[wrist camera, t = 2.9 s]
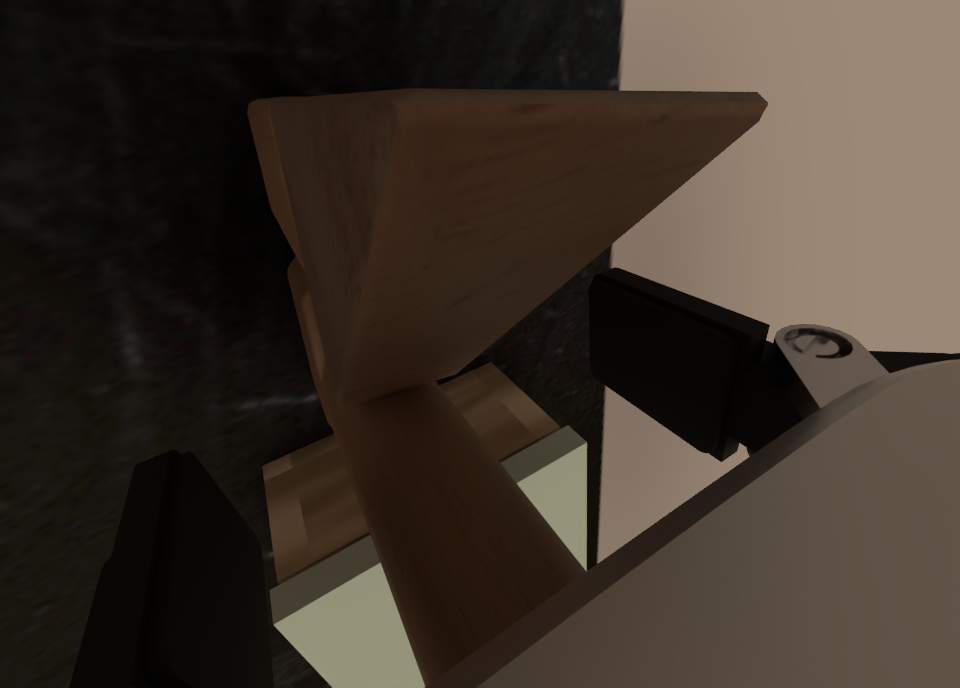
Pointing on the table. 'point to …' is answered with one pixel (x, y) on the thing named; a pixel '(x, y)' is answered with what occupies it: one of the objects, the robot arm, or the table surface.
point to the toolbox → (328, 488)
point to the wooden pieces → (457, 301)
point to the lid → (367, 596)
